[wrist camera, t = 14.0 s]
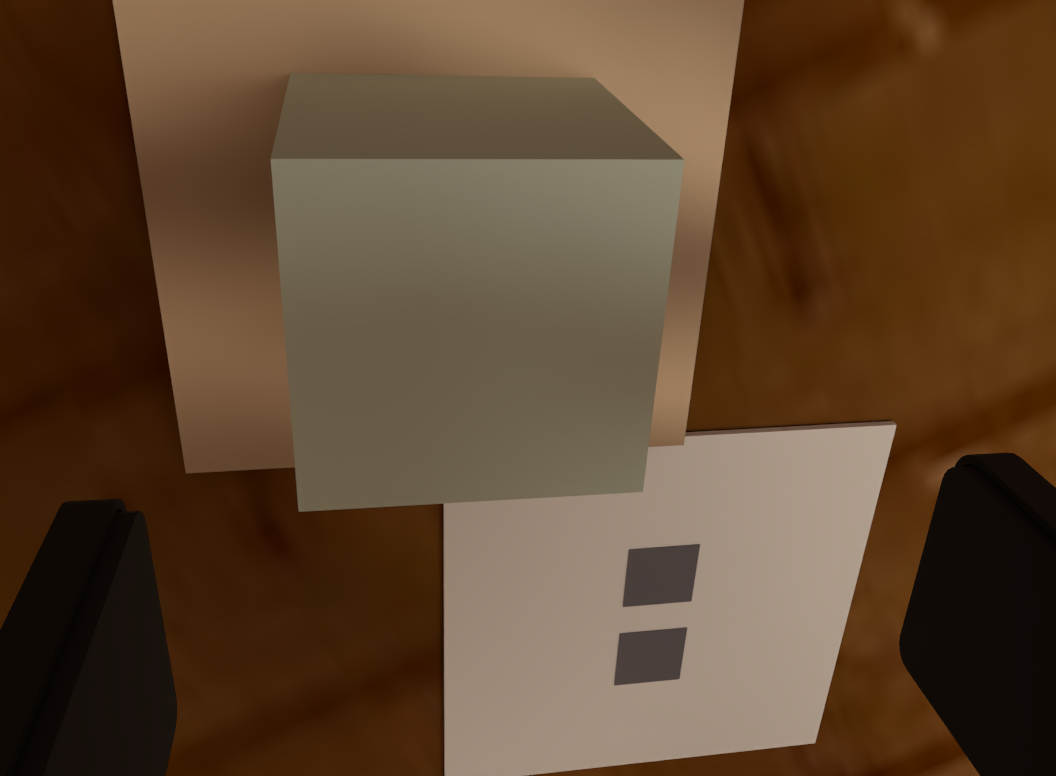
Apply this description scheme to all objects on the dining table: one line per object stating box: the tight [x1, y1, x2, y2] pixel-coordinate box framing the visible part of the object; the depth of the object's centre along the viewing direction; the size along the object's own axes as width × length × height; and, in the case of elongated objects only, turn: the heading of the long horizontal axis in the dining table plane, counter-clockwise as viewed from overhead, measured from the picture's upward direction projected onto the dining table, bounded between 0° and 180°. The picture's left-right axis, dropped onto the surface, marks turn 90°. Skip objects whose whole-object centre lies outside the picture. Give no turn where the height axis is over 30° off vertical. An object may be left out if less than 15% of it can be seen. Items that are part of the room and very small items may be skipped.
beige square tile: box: [113, 0, 744, 473], centre depth 21 cm, size 12×12×1 cm
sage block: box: [271, 73, 684, 512], centre depth 18 cm, size 6×6×6 cm
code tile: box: [443, 421, 896, 776], centre depth 28 cm, size 12×12×1 cm
